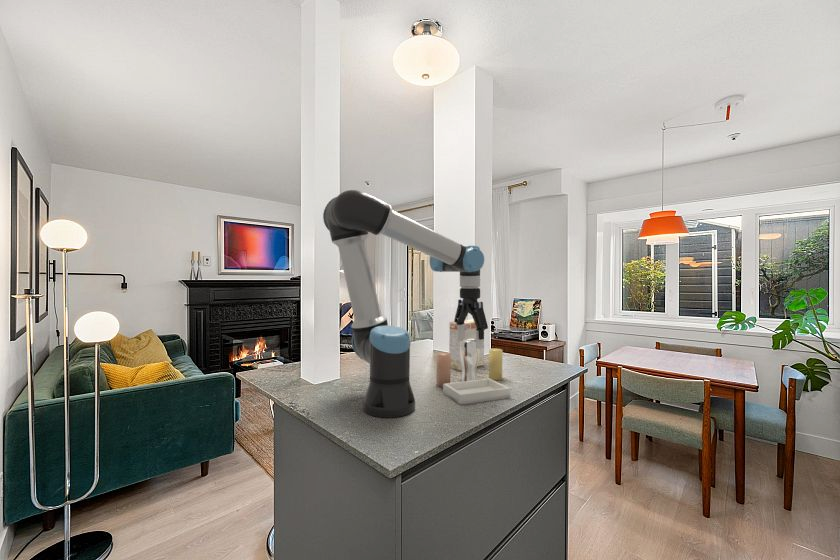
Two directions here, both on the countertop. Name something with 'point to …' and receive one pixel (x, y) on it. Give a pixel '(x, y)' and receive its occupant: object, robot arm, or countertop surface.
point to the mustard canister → (495, 363)
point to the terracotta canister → (443, 369)
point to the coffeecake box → (455, 345)
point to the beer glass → (468, 359)
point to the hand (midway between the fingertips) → (470, 344)
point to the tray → (476, 391)
